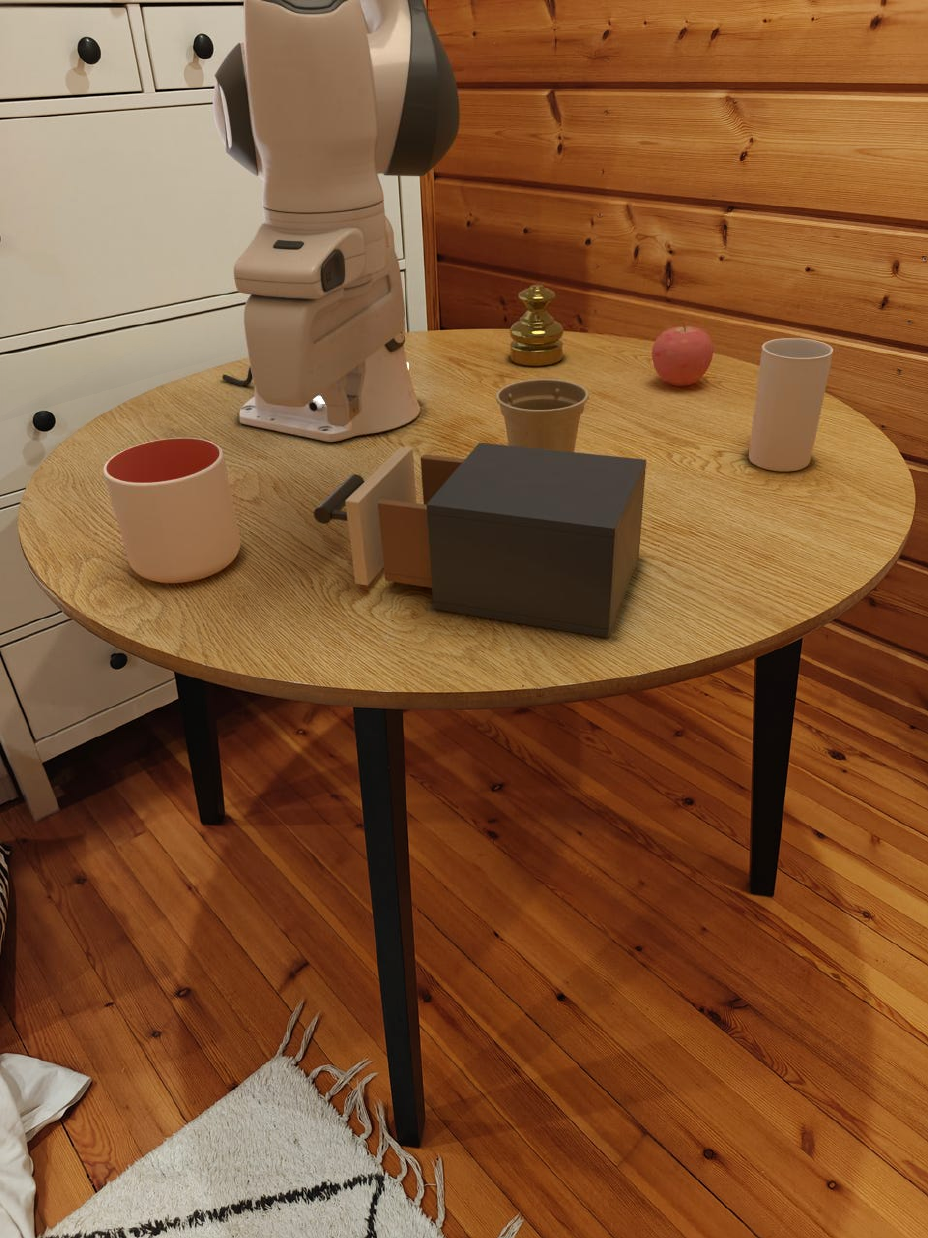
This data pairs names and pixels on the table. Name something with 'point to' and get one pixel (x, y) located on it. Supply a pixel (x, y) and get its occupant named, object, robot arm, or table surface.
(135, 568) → the cup
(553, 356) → the gold chess piece
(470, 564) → the cabinet
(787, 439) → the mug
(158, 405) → the table surface
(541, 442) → the flower pot
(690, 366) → the apple
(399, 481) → the drawer
